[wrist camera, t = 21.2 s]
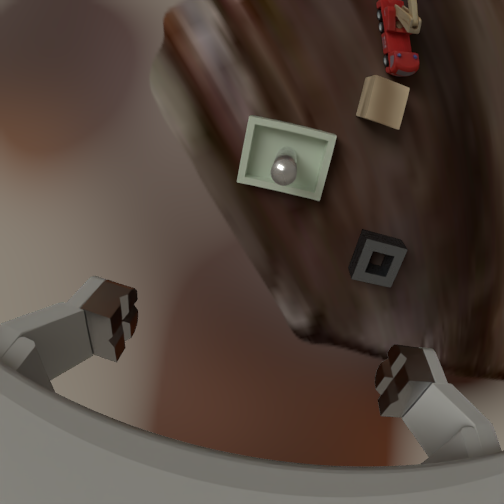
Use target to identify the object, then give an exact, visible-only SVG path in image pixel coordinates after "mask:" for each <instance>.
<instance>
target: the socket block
mask: <svg viewBox="0 0 504 504" xmlns="http://www.w3.org/2000/svg"><path fill="white" fill-rule="evenodd" d="M373 251H375V252H379V253H383V254H386V255H385V257H384V259H383V262H382V264H381V266H379V265H374V264H370V263H369V260H370V258H371V255H372V253H373ZM406 252H407V248H406V246H405V245H404V244H403V242H402V241H401V240H400V239H397V238H393V237H389V236H386V235H382V234H378V233H375V232H371V231H367V230H363V229H362V231H361V234H360V237H359V240H358V243H357V245H356V248H355V251H354V254H353V256H352V259H351V262H350V264H349V267H348V268H349V272H350V276H351V279H354V280H358V281H363V282H367V283H372V284H376V285H381V286H385V287H390V288H391V286H392V284H393V282H394V279H395V277H396V275H397V273H398V271H399V268H400V266H401V264H402V261H403V259H404V257H405V254H406Z"/></svg>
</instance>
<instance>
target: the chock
mask: <svg viewBox="0 0 504 504" xmlns="http://www.w3.org/2000/svg"><path fill="white" fill-rule="evenodd" d="M409 90H410V88H408V87H406V86H403V85H401V84H399V83H396V82H393V81H391V80H388V79H386V78H383V77H380V76H377V75H374V76H371V77H367V78H365V82H364V86H363V90H362V94H361V98H360V102H359V106H358V110H357V114H356V116H358V117H361V118H365V119H368V120H370V121H373V122H376V123H379V124H382V125H385V126H388V127H391V128H394V129H398V130H399V129H400V125H401V121H402V118H403V114H404V110H405V106H406V102H407V98H408V94H409Z"/></svg>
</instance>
